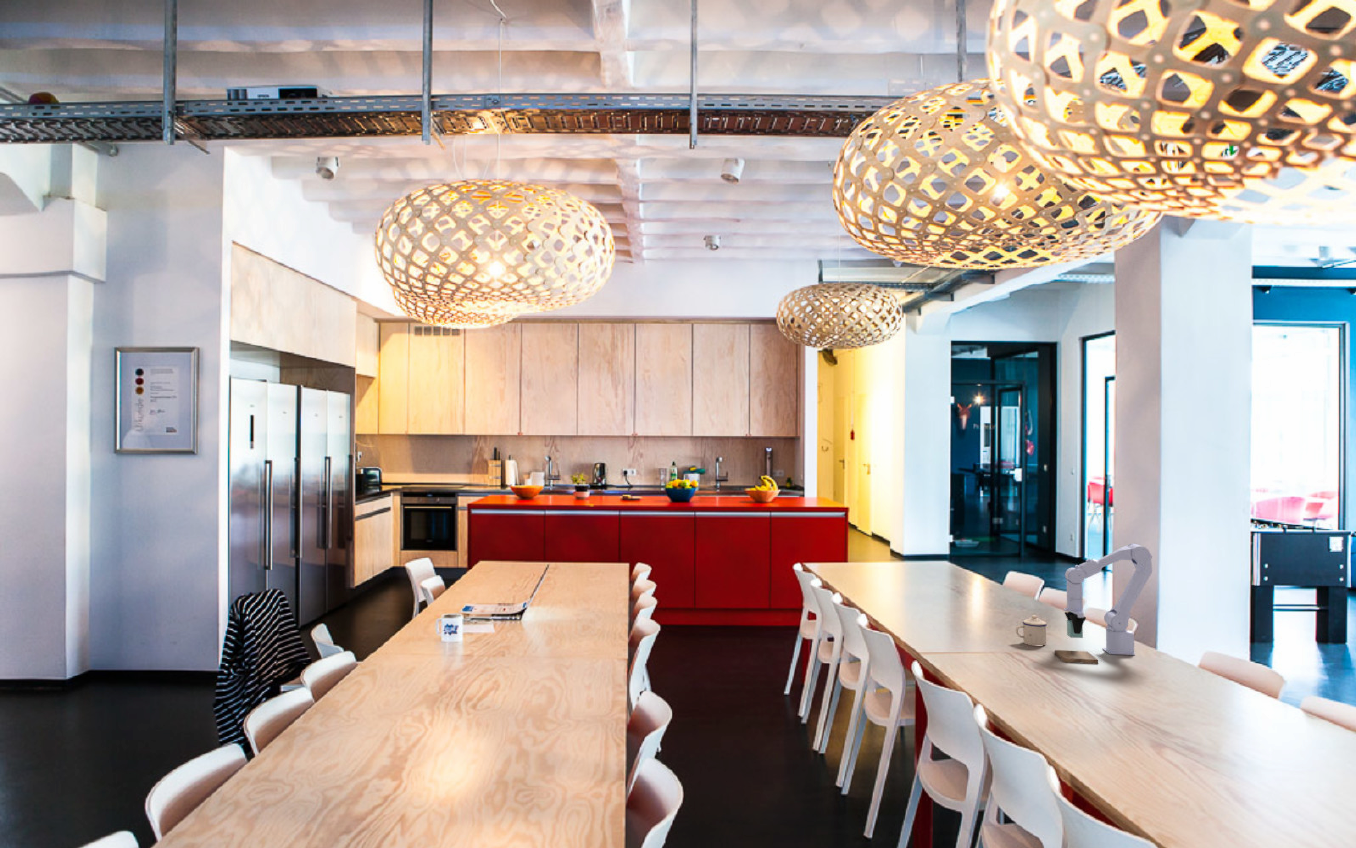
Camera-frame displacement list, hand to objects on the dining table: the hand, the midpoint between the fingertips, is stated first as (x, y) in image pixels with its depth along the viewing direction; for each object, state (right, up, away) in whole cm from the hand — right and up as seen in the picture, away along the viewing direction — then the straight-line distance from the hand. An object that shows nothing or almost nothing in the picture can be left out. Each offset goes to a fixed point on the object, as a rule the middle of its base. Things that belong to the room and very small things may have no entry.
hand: (1075, 632), depth 316 cm
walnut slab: (-7, -7, -13) cm, 16 cm away
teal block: (0, -2, 0) cm, 2 cm away
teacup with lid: (-14, -8, +9) cm, 18 cm away
